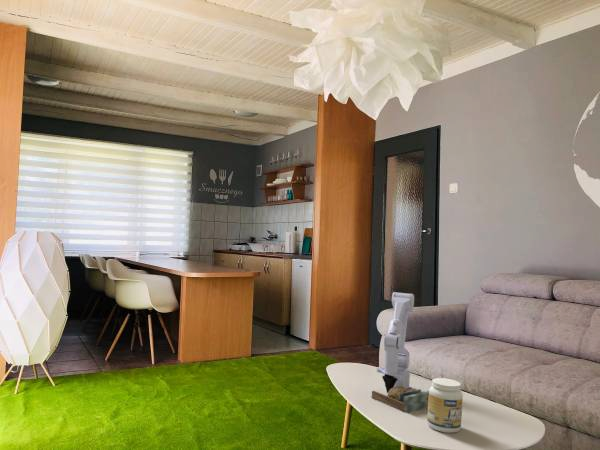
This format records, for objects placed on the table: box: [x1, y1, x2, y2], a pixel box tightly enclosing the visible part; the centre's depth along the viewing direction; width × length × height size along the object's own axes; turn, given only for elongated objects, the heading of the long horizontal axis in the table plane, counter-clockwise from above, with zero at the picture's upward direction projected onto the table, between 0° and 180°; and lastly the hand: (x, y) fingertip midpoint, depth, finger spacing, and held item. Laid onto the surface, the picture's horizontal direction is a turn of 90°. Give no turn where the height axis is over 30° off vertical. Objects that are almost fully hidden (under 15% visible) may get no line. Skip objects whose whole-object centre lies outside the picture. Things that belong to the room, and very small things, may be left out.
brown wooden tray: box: [371, 386, 429, 413], centre depth 208 cm, size 16×19×6 cm
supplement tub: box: [426, 377, 464, 434], centre depth 182 cm, size 12×12×17 cm
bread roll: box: [387, 386, 409, 400], centre depth 209 cm, size 10×10×8 cm
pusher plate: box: [398, 388, 422, 403], centre depth 204 cm, size 13×1×6 cm, turn 127°
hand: (389, 392), depth 213 cm, fingers closed
